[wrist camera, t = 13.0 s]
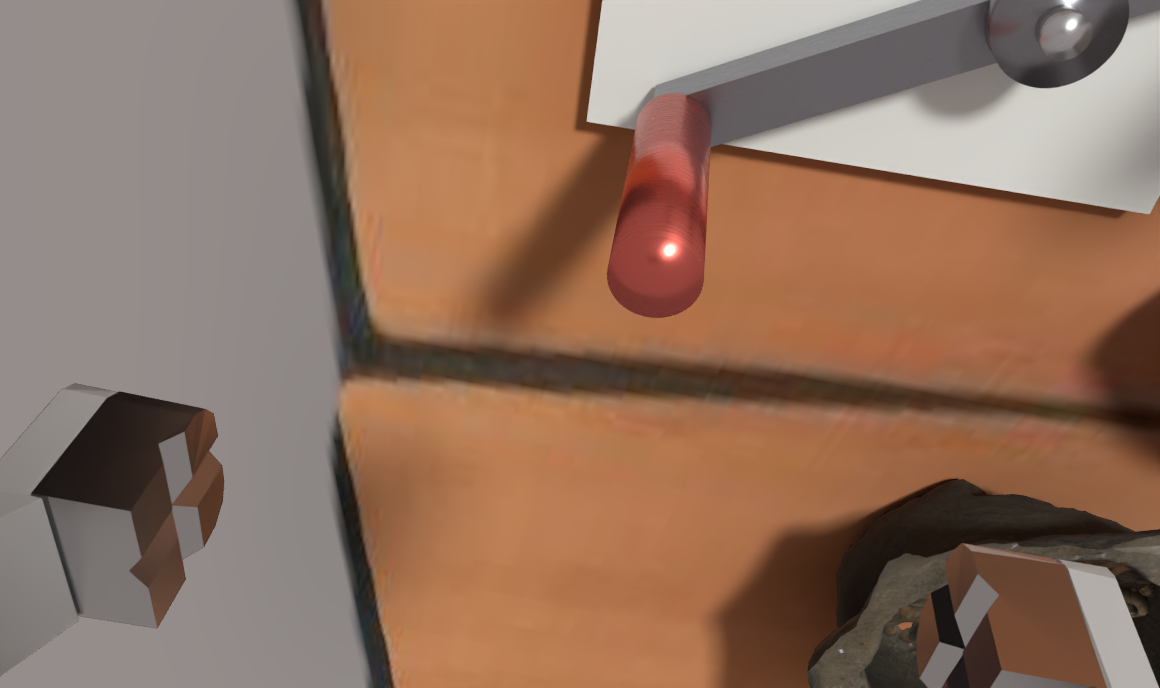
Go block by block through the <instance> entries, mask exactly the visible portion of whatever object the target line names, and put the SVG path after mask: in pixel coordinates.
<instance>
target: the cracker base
mask: <svg viewBox="0 0 1160 688" xmlns="http://www.w3.org/2000/svg"><path fill="white" fill-rule="evenodd" d="M917 1H920V0H602V7H601V15H600V22H599V30H598V38H597V45H596V53H595V61H594V68H593V76H592V84H591V92H590V99H589V107H588V115H587V122H592V123H598V124H604V125H610V126H616V127H622V128H628V129H634V130H635V128H636V123H637V119H638V116H639V114H640V112H641V110H642V109H643V108H644V106H645V105H646V104H647V103H648V102H650V101H651V100H652V99H653V98H654V92H655V86H656V85H658V84H661V83H664V82H667V81H670V80H674V79H677V78H680V77H683V76H686V75H689V74H692V73H695V72H698V71H702V70H705V69H708V68H711V67H714V66H717V65H720V64H723V63H727V62H730V61H733V60H736V59H739V58H742V57H745V56H748V55H752V54H755V53H758V52H761V51H764V50H767V49H770V48H773V47H777V46H780V45H783V44H786V43H789V42H792V41H795V40H798V39H802V38H805V37H808V36H811V35H814V34H817V33H820V32H823V31H827V30H830V29H833V28H836V27H839V26H842V25H845V24H848V23H851V22H855V21H858V20H861V19H864V18H867V17H870V16H873V15H876V14H880V13H883V12H886V11H889V10H892V9H895V8H898V7H901V6H905V5H908V4H911V3H914V2H917ZM723 144H725V145H731V146H737V147H744V148H750V149H756V150H762V151H768V152H774V153H780V154H786V155H792V156H798V157H804V158H810V159H816V160H822V161H828V162H835V163H841V164H847V165H853V166H859V167H865V168H871V169H877V170H883V171H889V172H895V173H901V174H907V175H913V176H920V177H926V178H932V179H938V180H944V181H950V182H956V183H962V184H968V185H974V186H980V187H986V188H992V189H998V190H1004V191H1011V192H1017V193H1023V194H1029V195H1035V196H1041V197H1047V198H1053V199H1059V200H1065V201H1071V202H1077V203H1083V204H1089V205H1096V206H1102V207H1108V208H1114V209H1120V210H1126V211H1132V212H1138V213H1144V214H1150V213H1151V211H1152V209H1153V207H1154V205H1155V203H1156V201H1157V199H1158V198H1159V196H1160V10H1157V11H1153V12H1150V13H1146V14H1143V15H1140V16H1136V17H1133V18H1130V19H1129V20H1128V25H1127V29H1126V32H1125V34H1124V37H1123V39H1122V41H1121V43H1120V44H1119V46H1118V48H1117V49H1116V51H1115V52H1114V53H1113V55H1112V56H1111V57H1110V58H1109V59H1108V60H1107V61H1106V62H1105V63H1104V64H1103V65H1102V66H1101V67H1100V68H1099V69H1097V70H1096V71H1095V72H1093V73H1092V74H1090V75H1088V76H1087V77H1085V78H1083V79H1081V80H1079V81H1077V82H1075V83H1072V84H1069V85H1066V86H1061V87H1056V88H1034V87H1029V86H1026V85H1023V84H1020V83H1018V82H1016V81H1015V80H1013V79H1011V78H1010V77H1009V76H1008V75H1006V74H1005V73H1004V72H1003V70H1002V69H1001V68H1000V67H999V65H998V63H995V64H992V65H988V66H985V67H982V68H978V69H975V70H971V71H968V72H965V73H961V74H958V75H954V76H951V77H948V78H944V79H941V80H937V81H934V82H931V83H927V84H924V85H920V86H917V87H914V88H910V89H907V90H903V91H900V92H897V93H893V94H890V95H886V96H883V97H880V98H876V99H873V100H869V101H866V102H863V103H859V104H856V105H852V106H849V107H846V108H842V109H839V110H835V111H832V112H829V113H825V114H822V115H818V116H815V117H812V118H808V119H805V120H801V121H798V122H795V123H791V124H788V125H784V126H781V127H778V128H774V129H771V130H767V131H764V132H761V133H757V134H754V135H750V136H747V137H744V138H740V139H737V140H733V141H730V142H727V143H723Z"/></svg>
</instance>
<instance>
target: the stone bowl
mask: <svg viewBox="0 0 1160 688" xmlns="http://www.w3.org/2000/svg"><path fill="white" fill-rule="evenodd" d="M962 543H964V544H970V545H976V546H982V547H988V548H994V549H1000V550H1006V551H1012V552H1017V553H1023V554H1029V555H1035V556H1041V557H1047V558H1052V559H1054V560H1058V559H1059V560H1065V561H1071V562H1077V563H1083V564H1089V565H1095V566H1101V567H1107V568H1108V570H1109V571H1110V572H1111V573H1112V574H1113V575H1114V576H1115V578H1116V580H1117V582H1118V585H1119V588H1120V590H1121V593H1122V595H1123V598H1124V600H1125V603H1126V605H1127V608H1128V610H1129V613H1130V615H1131V618H1132V620H1133V623H1134V625H1135V628H1136V631H1137V633H1138V636H1139V638H1140V641H1141V643H1142V646H1143V648H1144V651H1145V653H1146V656H1147V658H1148V661H1149V663H1150V666H1151V669H1152V671H1153V674H1154V676H1155V679H1156V681H1157V684H1158V686H1159V688H1160V529H1159V530H1149V531H1139V532H1134V531H1133V530H1131V529H1129V528H1126V527H1124V526H1122V525H1120V524H1118V523H1117V522H1114V521H1111V520H1108V519H1104V518H1101V517H1097V516H1095V515H1093V514H1090V513H1088V512H1086V511H1078V510H1076V509H1074V508H1058V507H1055V506H1053V505H1052V504H1050V503H1047V502H1043V501H1040V500H1037V499H1033V498H1030V497H1027V496H1023V495H1015V494H1009V495H986V494H985V492H984V491H982V490H981V489H980V488H978V487H977V486H975V485H973V484H971V483H969V482H967V481H966V480H964V479H961V480H953V481H950V482H947V483H944V484H942V485H939V486H937V487H935V488H934V489H932V490H931V491H929V492H928V493H926V494H925V495H923V496H921V497H919V498H913V499H912V500H910V501H908V502H907V503H905V504H904V505H902V506H900V507H899V508H897V509H894V510H892V511H889V512H888V513H886V514H884V515H883V516H881V517H879V518H877V519H875V521H874V522H873V523H872V524H871V525H870V527H869V528H868V530H867V532H866V534H865V535H864V536H863V537H861V538H860V539H858V540H857V541H856V542H855V543H854V544H853V545H852V546H851V547H850V548H849V549H848V551H847V552H846V553H845V555H844V558H843V560H842V563H841V566H840V568H839V571H838V574H837V589H838V594H837V624H838V629H836V630H834V631H833V632H832V633H831V634H830V635H829V636H827V637H826V638H825V639H824V640H823V641H822V642H821V643H820V644H819V645H818V646H817V647H816V648H815V650H814V653H813V655H812V657H811V659H810V661H809V665H808V674H809V677H808V681H809V684H810V688H928V687H927V686H926V685H925V684H924V683H923V681H922V680H921V679H920V676H919V669H918V663H917V632H918V627H919V622H920V616H921V612H922V610H923V608H924V606H925V604H926V602H927V600H928V597H929V595H930V593H932V592H933V591H935V590H937V589H939V588H941V587H943V586H945V585H947V584H948V581H947V576H946V571H945V564H946V563H947V561H948V559H949V557H950V555H951V553H952V552H953V550H954V549H956V548H957V547H958V546H959V545H960V544H962ZM904 622H913V624H912V627H911V628H907V629H904V630H901V629H900V628H899V626H898V624H901V623H904Z"/></svg>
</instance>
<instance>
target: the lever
mask: <svg viewBox="0 0 1160 688" xmlns="http://www.w3.org/2000/svg"><path fill="white" fill-rule="evenodd" d="M1157 10H1160V0H920V1H917V2H914V3H911V4H908V5H905V6H901V7H898V8H895V9H892V10H889V11H886V12H883V13H880V14H876V15H873V16H870V17H867V18H864V19H861V20H858V21H855V22H851V23H848V24H845V25H842V26H839V27H836V28H833V29H830V30H827V31H823V32H820V33H817V34H814V35H811V36H808V37H805V38H802V39H798V40H795V41H792V42H789V43H786V44H783V45H780V46H777V47H773V48H770V49H767V50H764V51H761V52H758V53H755V54H752V55H748V56H745V57H742V58H739V59H736V60H733V61H730V62H727V63H723V64H720V65H717V66H714V67H711V68H708V69H705V70H702V71H698V72H695V73H692V74H689V75H686V76H683V77H680V78H677V79H674V80H670V81H667V82H664V83H661V84H658V85H656V86H655V92H654V98H653V99H652V100H651V101H650V102H648V103H647V104H646V105H645V106H644V108H643V109H642V110H641V112H640V114H639V116H638V119H637V123H636V128H635V133H634V138H633V143H632V149H631V154H630V159H629V164H628V169H627V174H626V179H625V184H624V189H623V194H622V199H621V204H620V209H619V214H618V219H617V224H616V229H615V234H614V240H613V245H612V250H611V255H610V260H609V265H608V271H607V280H608V285H609V288H610V291H611V292H612V294H613V296H614V297H615V299H616V300H617V301H618V302H619V303H620V304H621V305H622V306H623V307H625V308H626V309H628V310H629V311H631V312H633V313H636V314H638V315H642V316H646V317H653V318H661V317H668V316H672V315H676V314H678V313H680V312H682V311H684V310H686V309H687V308H689V307H690V306H691V305H692V304H693V303H694V302H695V301H696V299H697V298H698V297H699V295H700V293H701V290H702V287H703V282H704V263H705V244H706V225H707V206H708V187H709V168H710V150H711V147H713V146H716V145H720V144H723V143H727V142H730V141H733V140H737V139H740V138H744V137H747V136H750V135H754V134H757V133H761V132H764V131H767V130H771V129H774V128H778V127H781V126H784V125H788V124H791V123H795V122H798V121H801V120H805V119H808V118H812V117H815V116H818V115H822V114H825V113H829V112H832V111H835V110H839V109H842V108H846V107H849V106H852V105H856V104H859V103H863V102H866V101H869V100H873V99H876V98H880V97H883V96H886V95H890V94H893V93H897V92H900V91H903V90H907V89H910V88H914V87H917V86H920V85H924V84H927V83H931V82H934V81H937V80H941V79H944V78H948V77H951V76H954V75H958V74H961V73H965V72H968V71H971V70H975V69H978V68H982V67H985V66H988V65H992V64H995V63H998V65H999V67H1000V68H1001V69H1002V70H1003V72H1004V73H1005V74H1006V75H1008V76H1009V77H1010V78H1011V79H1013V80H1015V81H1016V82H1018V83H1020V84H1023V85H1026V86H1029V87H1034V88H1056V87H1061V86H1066V85H1069V84H1072V83H1075V82H1077V81H1079V80H1081V79H1083V78H1085V77H1087V76H1088V75H1090V74H1092V73H1093V72H1095V71H1096V70H1097V69H1099V68H1100V67H1101V66H1102V65H1103V64H1104V63H1105V62H1106V61H1107V60H1108V59H1109V58H1110V57H1111V56H1112V55H1113V53H1114V52H1115V51H1116V49H1117V48H1118V46H1119V44H1120V43H1121V41H1122V39H1123V37H1124V34H1125V32H1126V29H1127V25H1128V20H1129V19H1130V18H1133V17H1136V16H1140V15H1143V14H1146V13H1150V12H1153V11H1157Z"/></svg>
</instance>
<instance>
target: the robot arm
mask: <svg viewBox="0 0 1160 688" xmlns="http://www.w3.org/2000/svg"><path fill="white" fill-rule="evenodd" d="M217 437H218V434H217V428H216V423H215V418H214V414H213V413H212V412H210V411H208V410H206V409H203V408H198V407H193V406H188V405H184V404H179V403H174V402H169V401H163V400H159V399H154V398H149V397H144V396H139V395H134V394H129V393H125V392H115V391H110V390H105V389H100V388H96V387H91V386H86V385H81V384H76V383H75V384H73V385H70V386H68V387H66V388H64V389H62V390H61V391H60V392H58V394H57V395H56V396H55V397H54V398H53V399H52V401H51V402H50V403H49V404H48V405H47V406H46V407H45V408H44V410H43V411H42V412H41V413H40V414H39V415H38V417H37V418H36V419H35V420H34V421H33V422H32V423H31V425H30V426H29V427H28V428H27V429H26V430H25V432H24V433H23V434H22V435H21V436H20V437H19V438H18V440H17V441H16V442H15V443H14V444H13V445H12V446H11V448H10V449H9V450H8V451H7V452H6V453H5V454H4V456H3V457H2V458H1V459H0V676H1V675H3V674H4V673H6V672H7V671H8V670H10V669H11V668H13V667H14V666H15V665H17V664H18V663H20V662H21V661H23V660H24V659H25V658H27V657H28V656H30V655H31V654H32V653H34V652H35V651H37V650H38V649H40V648H41V647H42V646H44V645H45V644H46V643H48V642H49V641H51V640H52V639H54V638H55V637H56V636H58V635H59V634H61V633H62V632H63V631H65V630H66V629H68V628H69V627H70V626H72V625H73V624H75V623H76V622H78V620H79V618H78V616H81V617H87V618H94V619H100V620H107V621H113V622H119V623H126V624H133V625H138V626H145V627H151V628H158V626H159V625H160V623H161V621H162V619H163V618H164V616H165V614H166V613H167V611H168V609H169V607H170V606H171V604H172V602H173V600H174V599H175V597H176V595H177V593H178V591H179V590H180V588H181V586H182V585H183V583H184V581H185V579H186V578H185V572H184V567H183V561H182V560H183V559H184V558H186V557H188V556H190V555H191V554H193V553H195V552H196V551H198V550H200V549H202V548H203V547H204V546H205V544H206V542H207V541H208V538H209V537H210V535H211V533H212V531H213V529H214V527H215V525H216V522H217V518H218V515H219V512H220V508H221V505H222V502H223V491H224V476H223V468H222V465H221V464H220V462H218V460H217V459H216V458H215V457H214V456H213V455H212V454H211V453H210V451H209V450H210V448H211V447H212V445H213V443H214V442H215V440H216V438H217ZM945 571H946V576H947V581H948V584H947V585H945V586H943V587H941V588H939V589H937V590H935V591H933V592H932V593H930V595H929V597H928V600H927V602H926V604H925V606H924V608H923V610H922V612H921V616H920V622H919V627H918V632H917V663H918V669H919V676H920V679H921V680H922V681H923V683H924V684H925V685H926V686H927V687H928V688H1159V686H1158V684H1157V681H1156V679H1155V676H1154V674H1153V671H1152V669H1151V666H1150V663H1149V661H1148V658H1147V656H1146V653H1145V651H1144V648H1143V646H1142V643H1141V641H1140V638H1139V636H1138V633H1137V631H1136V628H1135V625H1134V623H1133V620H1132V618H1131V615H1130V613H1129V610H1128V608H1127V605H1126V603H1125V600H1124V598H1123V595H1122V593H1121V590H1120V588H1119V585H1118V582H1117V580H1116V578H1115V576H1114V575H1113V574H1112V573H1111V572H1110V571H1109V570H1108V568H1107V567H1101V566H1095V565H1089V564H1083V563H1077V562H1071V561H1065V560H1059V559H1058V560H1054V559H1052V558H1047V557H1041V556H1035V555H1029V554H1023V553H1017V552H1012V551H1006V550H1000V549H994V548H988V547H982V546H976V545H970V544H964V543H962V544H960V545H959V546H958V547H957V548H956V549H954V550H953V552H952V553H951V555H950V557H949V559H948V561H947V563H946V564H945Z"/></svg>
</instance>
